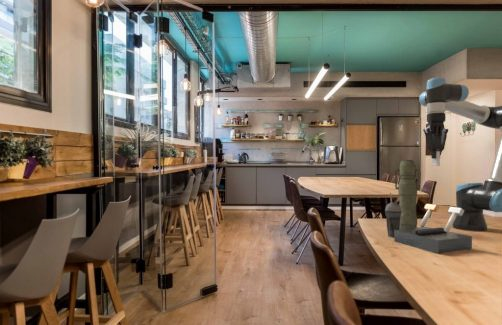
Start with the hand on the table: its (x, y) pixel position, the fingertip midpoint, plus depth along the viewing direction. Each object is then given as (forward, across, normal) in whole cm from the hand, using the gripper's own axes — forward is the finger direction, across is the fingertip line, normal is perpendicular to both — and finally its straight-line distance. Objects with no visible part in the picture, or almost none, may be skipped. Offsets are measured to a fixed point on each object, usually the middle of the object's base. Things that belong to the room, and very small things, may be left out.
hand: (435, 165), depth 158 cm
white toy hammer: (+26, +12, +15) cm, 32 cm away
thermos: (+33, -5, -21) cm, 39 cm away
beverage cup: (+33, +15, -10) cm, 37 cm away
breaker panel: (+32, +13, +9) cm, 36 cm away
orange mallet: (+26, +12, +3) cm, 29 cm away
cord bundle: (+27, +13, +9) cm, 32 cm away
